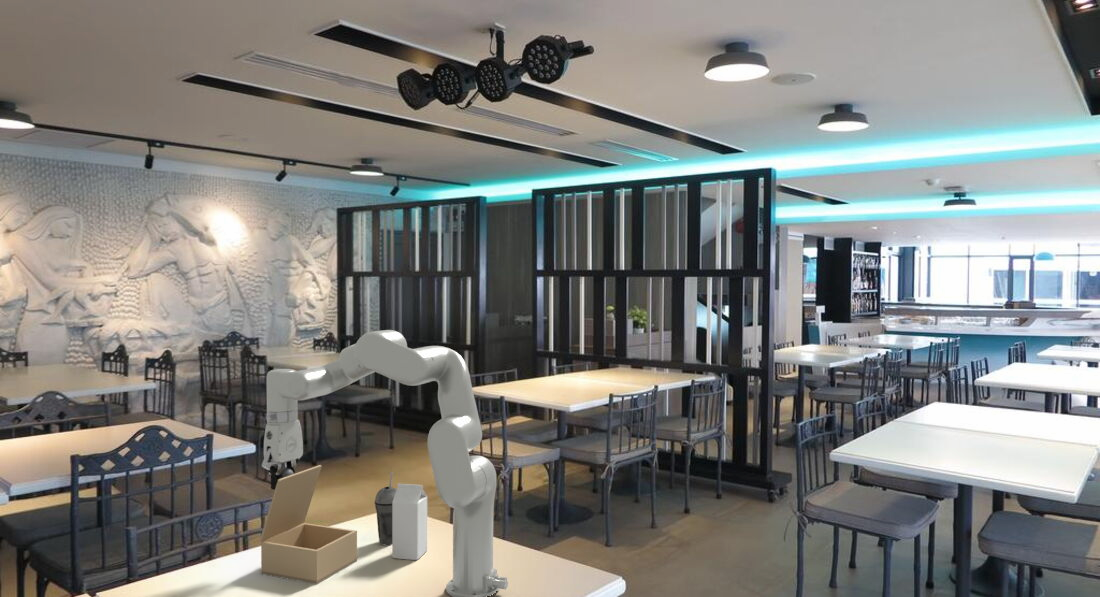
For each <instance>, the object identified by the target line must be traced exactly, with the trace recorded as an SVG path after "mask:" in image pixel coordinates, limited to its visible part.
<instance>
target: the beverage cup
mask: <svg viewBox="0 0 1100 597" xmlns="http://www.w3.org/2000/svg"><path fill="white" fill-rule="evenodd" d="M393 474H394V471H391V472H390V477H389V478H390V479H389V486H384V487H381V489H379V490H378V491H377V493H376V496H375V498H374V507H375V510H376V512H375V513H376V523H377V533H378V540H379V544H380V545H382V546H392V502H393V499H394V496H395V494H396V491H397V488H394V487H393V486H392V483H393Z"/></svg>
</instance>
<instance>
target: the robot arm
mask: <svg viewBox="0 0 1100 597" xmlns="http://www.w3.org/2000/svg"><path fill="white" fill-rule="evenodd" d="M340 351H341V352H340V353H339V357H338V359H335V360H333V361H331V362H329V363H326V364H324V365H321V366H319V367H317V366H316V367H312V368H311V367H310V368H307V369H301V370H295V369H292V368H276V369H272V370H268V372H267V374H266V418H265V420H266V424H265V430H264V438H263V460H262V463H261V467H262V468H263V469H265V470H266V471H267V472H268V474H269V475H270V489H271V490H272V491H273V490H274V491H275V488H276V485H277V481H278V479H281V478H282V474H280V473H281V470H282V464H284V469H285V468H288V469H291V470H292V471H293V473H294V474H295V473H296V469H297V467H298V466H297V465H298V463H299V461H300V459H301V457H303V454H304V441H303V432H302V425H301V423H300V419H299V418H298V417H299V414H298V411H299V410H298V406H299V405H298V402H299V401H305V400H311V399H313V398H318V397H322V396H327V395H329V394H331V393H333V392H336V391H338V390H340V389H342V388H345V387H347V386H349V385H351V384H353V383H355V382H358V380H360V379H362V378H365V377H367V376H369V375H371V374H374V373H377V374H379V375H382V376H384V377H386V378H389V379H391V380H393V381H395V382H398V383H400V384H402V385H406V386H413V387H414V386H421V385H424V384H427V383H431V382H437V385H438V387H437V388H438V390H437V400H438V401H437V402H438V405H439V409H440V415H441V419H439V420H438V421H436V422H435V423H434V424H433V425H432V426H431V428H430V429H429V433H428V434H427V435H428V436H427V450H428V456H429V462H430V466H431V470H432V475H433V479H434V483H435V487H436V490H437V494H438V496H439V498H440V499H441V501H442V502H443V503H444V504H445V505H447V506H448V507H450V508H453V514H452V520H453V521H452V579H449V581H448V582H447V584H446V586H445V588H446V589H445V590H446V593H447V595H449V596H451V597H486V596H490V595H492V594H494V593H495V592H496V591H498V589H499V590H500V589H501V590H504V591H506V590H507V588H508V587H509V582H508V578H507V577H506V576H499V574H498V569H497V568H494V512H495V511H494V510H495V509H494V508H495V504H494V503H495V498H496V496H495V495H496V490H497V489H496V488H497V471H496V468H495V466H494V464H493V463H492V461H491V460H489V459H488V458H487V457H485V456H483V455H471V456H470V454H469V453H470V452H471V451H473V450H474V449H476V448H477V447H478V446H479V445H480V444H481V442H482V440H483V430H482V425H481V420H480V417H479V412H478V406H477V403H476V399H475V395H474V390H473V386H472V381H471V376H470V371H469V368H468V365H467V363H466V361H465V359H464V358H463V357H462V355H461V354H459V353H458V352H457V351H456V350H453V349H451V348H449V347H445V346H443V345H442V346H441V345H429V346H428V345H427V346H422V347H417V348H410V347H408V343H407V339H406V338H405V337H404V335H403V334H402V333H401V332H399V331H396V330H394V329H393V330H392V329H385V330H374V331H368V332H366V333H364V334H363V335H361V336H360V337H359V339H357V341H356V343H354V344H352V345H349V346H347V347H345V348H343V349H342V350H340ZM498 592H499V591H498ZM494 595H495V594H494ZM492 596H493V595H492ZM490 597H491V596H490Z"/></svg>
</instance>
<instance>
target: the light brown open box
mask: <svg viewBox="0 0 1100 597" xmlns="http://www.w3.org/2000/svg"><path fill="white" fill-rule="evenodd" d="M260 542H261V541H260ZM260 544H261V545H260V548H261V549H260V550H261V552H260V553H261V554H260V555H261V556H260V557H261V563H260V564H261V566H260V571H261V572H260V573H261V575H264V574H266V576H270V575H272V577H275V576H277V577H276V578H281V577H282V578H281V579H286V578H288V579H287V580H292V579H293V580H292V581H297V580H299V581H298V582H303V583H308V582H309V583H308V584H313V583H314V584H315V585H318V584H319V583H322V582H323V581H325V580H326V579H328V578H330V577H332V576H334V575H335V574H338V573H339V572H340V571H342V570H344V569H346V568H348V567H349V566H352V565H353V564H354V563H356V562H358V530H355V529H349V528H341V527H334V526H327V525H320V524H319V525H318V524H313V523H306V522H304V523H302V524H300V525H298V526H296V527H293V528H291V529H289V530H287V531H284V532H282V533H280V534H278V535H275V536H273V537H271V538H269V539H266V540H264V541H262V542H261V543H260Z"/></svg>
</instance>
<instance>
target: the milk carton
mask: <svg viewBox="0 0 1100 597" xmlns="http://www.w3.org/2000/svg"><path fill="white" fill-rule="evenodd" d="M423 488H424V486H423V484H412V483H411V484H410V483H397V488H396V490H397V491H396V494H395V496H394V499H393V502H392V544H391V546H392V552H391V554H392V556H391V557H392V559H401V560H412V561H418V560H419V559H420V558H421V557H422V556H423V555H424V554H425V553H427V551H428V495H427V493H426V492H425V490H424V489H423Z"/></svg>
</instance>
